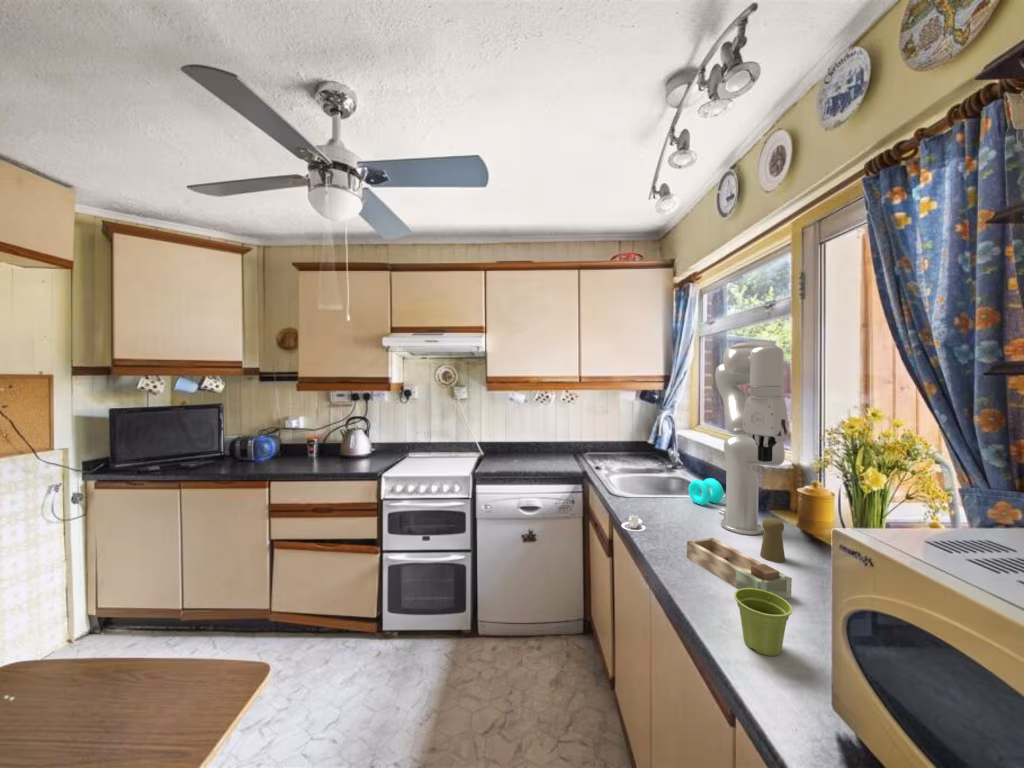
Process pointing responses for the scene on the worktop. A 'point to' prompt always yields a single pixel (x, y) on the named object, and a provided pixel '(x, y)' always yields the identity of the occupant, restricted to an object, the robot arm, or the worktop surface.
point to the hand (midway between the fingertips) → (764, 460)
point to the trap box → (734, 567)
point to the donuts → (705, 491)
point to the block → (764, 572)
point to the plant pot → (763, 619)
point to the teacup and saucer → (634, 523)
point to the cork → (772, 540)
